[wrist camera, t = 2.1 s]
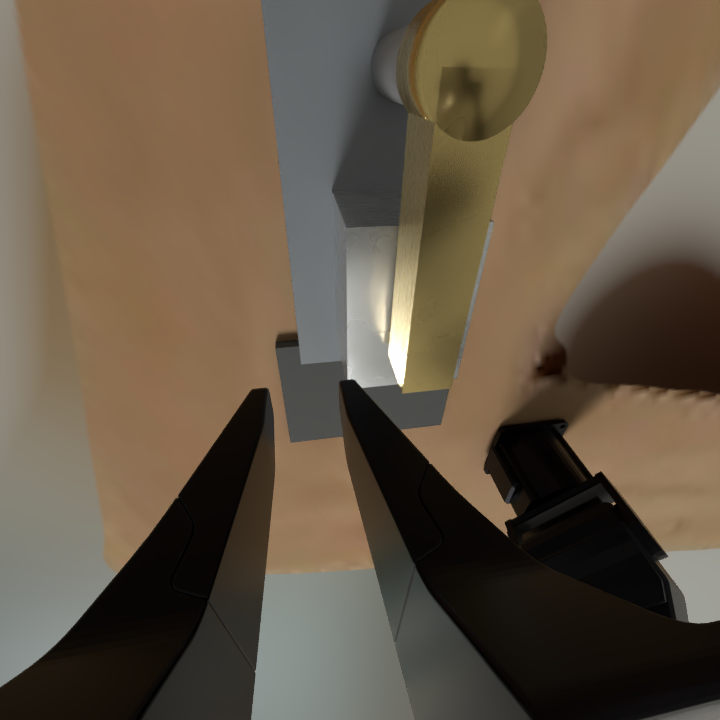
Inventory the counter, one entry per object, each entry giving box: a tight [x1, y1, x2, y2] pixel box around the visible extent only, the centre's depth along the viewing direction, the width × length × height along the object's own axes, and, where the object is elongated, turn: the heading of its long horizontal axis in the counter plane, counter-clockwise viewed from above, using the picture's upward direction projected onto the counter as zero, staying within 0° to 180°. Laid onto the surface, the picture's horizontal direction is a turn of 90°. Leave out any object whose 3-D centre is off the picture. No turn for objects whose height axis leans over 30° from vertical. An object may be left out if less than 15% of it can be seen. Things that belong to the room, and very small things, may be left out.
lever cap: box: [332, 189, 494, 388], centre depth 16 cm, size 5×7×4 cm
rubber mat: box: [276, 341, 449, 442], centre depth 26 cm, size 12×9×1 cm
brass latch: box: [388, 0, 547, 394], centre depth 11 cm, size 3×10×2 cm, turn 179°
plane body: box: [261, 0, 432, 364], centre depth 16 cm, size 9×15×8 cm, turn 179°
